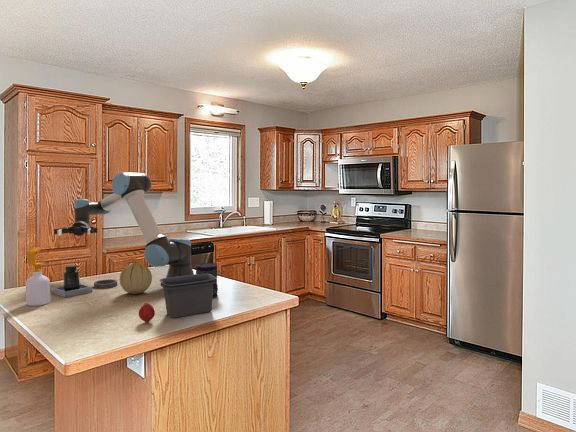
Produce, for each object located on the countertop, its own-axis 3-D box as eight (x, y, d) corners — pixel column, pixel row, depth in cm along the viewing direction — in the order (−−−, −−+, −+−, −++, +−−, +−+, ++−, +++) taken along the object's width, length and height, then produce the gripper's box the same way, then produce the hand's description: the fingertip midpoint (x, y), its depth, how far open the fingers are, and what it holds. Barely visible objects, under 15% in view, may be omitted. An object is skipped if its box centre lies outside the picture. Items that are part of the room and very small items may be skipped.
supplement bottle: (82, 288, 207) (82, 264, 206) (74, 292, 200) (73, 267, 199) (69, 288, 208) (68, 264, 207) (60, 291, 201) (59, 267, 200)
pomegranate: (141, 320, 163) (140, 299, 162) (156, 319, 163) (155, 299, 163) (137, 325, 157) (136, 304, 156) (152, 324, 158) (152, 303, 157)
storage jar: (222, 295, 200) (221, 263, 198) (209, 300, 191) (209, 267, 189) (204, 292, 204) (204, 262, 203) (191, 297, 195) (191, 265, 194)
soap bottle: (55, 301, 188) (52, 247, 186) (37, 307, 180) (34, 250, 178) (40, 299, 191) (37, 246, 189) (21, 305, 183) (18, 249, 181)
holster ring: (121, 285, 218) (121, 281, 218) (101, 289, 210) (101, 285, 210) (110, 282, 225) (109, 278, 225) (89, 286, 216) (89, 282, 216)
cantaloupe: (126, 299, 192) (125, 266, 191) (115, 292, 203) (114, 262, 202) (157, 293, 202) (156, 262, 200) (145, 288, 213) (145, 258, 212)
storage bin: (166, 321, 161) (166, 285, 160) (157, 311, 175) (156, 277, 173) (219, 313, 172) (219, 278, 171) (206, 303, 185) (206, 271, 184)
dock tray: (92, 291, 205) (92, 286, 205) (64, 297, 195) (64, 292, 195) (79, 287, 213) (79, 282, 213) (52, 293, 203) (51, 287, 203)
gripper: (104, 234, 235) (100, 239, 215) (54, 236, 228) (45, 241, 207) (104, 220, 235) (100, 224, 215) (53, 222, 227) (45, 225, 207)
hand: (73, 232), depth 211 cm, fingers open, 13 cm apart
